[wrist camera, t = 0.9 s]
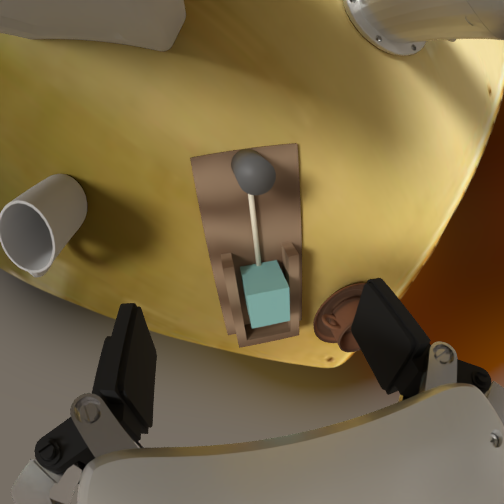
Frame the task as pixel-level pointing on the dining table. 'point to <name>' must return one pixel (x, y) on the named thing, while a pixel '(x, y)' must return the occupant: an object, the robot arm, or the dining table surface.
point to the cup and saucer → (339, 317)
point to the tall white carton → (96, 20)
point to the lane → (251, 235)
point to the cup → (42, 222)
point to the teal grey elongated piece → (260, 274)
